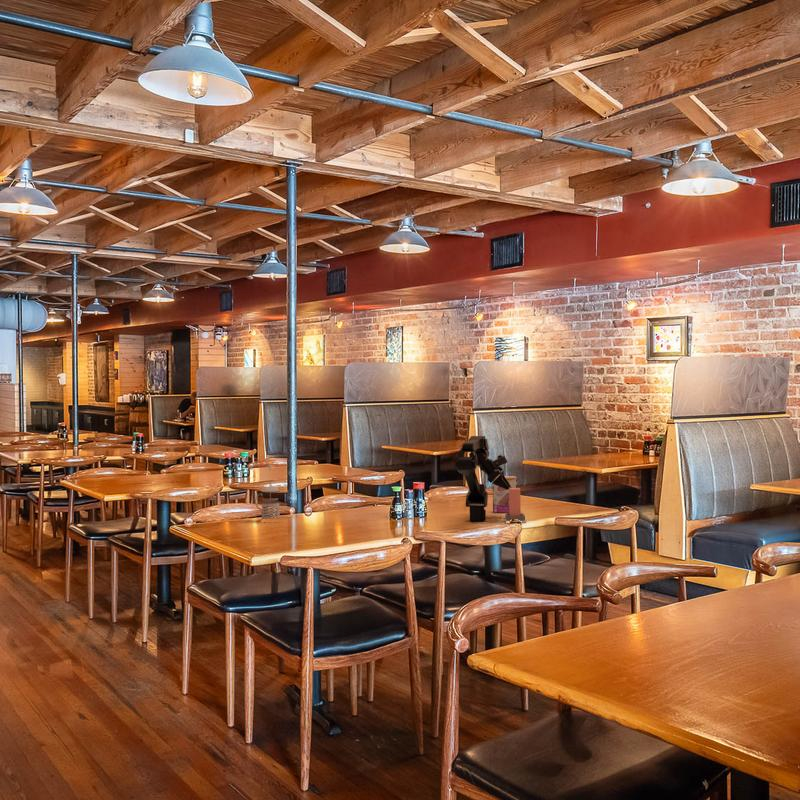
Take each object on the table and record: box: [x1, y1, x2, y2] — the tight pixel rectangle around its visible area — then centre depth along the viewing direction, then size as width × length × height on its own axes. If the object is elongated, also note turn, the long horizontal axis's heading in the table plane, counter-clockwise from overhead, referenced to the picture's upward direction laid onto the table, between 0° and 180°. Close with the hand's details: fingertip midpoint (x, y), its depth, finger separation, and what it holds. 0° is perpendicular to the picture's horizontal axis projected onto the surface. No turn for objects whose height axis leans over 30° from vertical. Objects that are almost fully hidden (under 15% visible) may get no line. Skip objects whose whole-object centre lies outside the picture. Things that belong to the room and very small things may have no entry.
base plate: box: [504, 512, 527, 524], centre depth 354 cm, size 8×8×3 cm
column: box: [509, 487, 522, 516], centre depth 354 cm, size 4×4×13 cm
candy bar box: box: [492, 475, 518, 514], centre depth 381 cm, size 11×5×16 cm, turn 84°
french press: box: [254, 464, 281, 520], centre depth 369 cm, size 10×12×25 cm
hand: (509, 487), depth 361 cm, fingers open, 9 cm apart
